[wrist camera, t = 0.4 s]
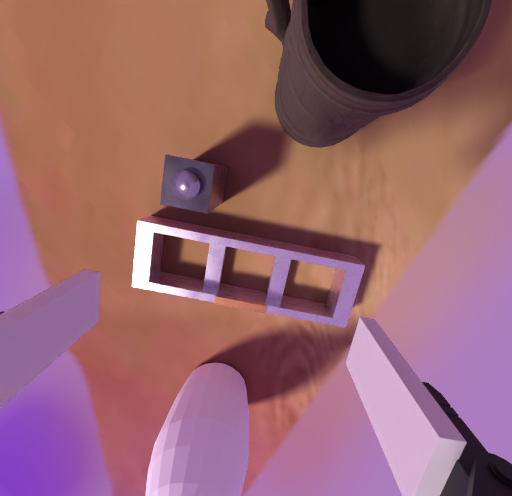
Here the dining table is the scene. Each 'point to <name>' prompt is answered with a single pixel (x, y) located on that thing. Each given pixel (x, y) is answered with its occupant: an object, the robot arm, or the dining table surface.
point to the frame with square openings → (239, 297)
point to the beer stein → (364, 59)
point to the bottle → (203, 437)
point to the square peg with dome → (193, 184)
